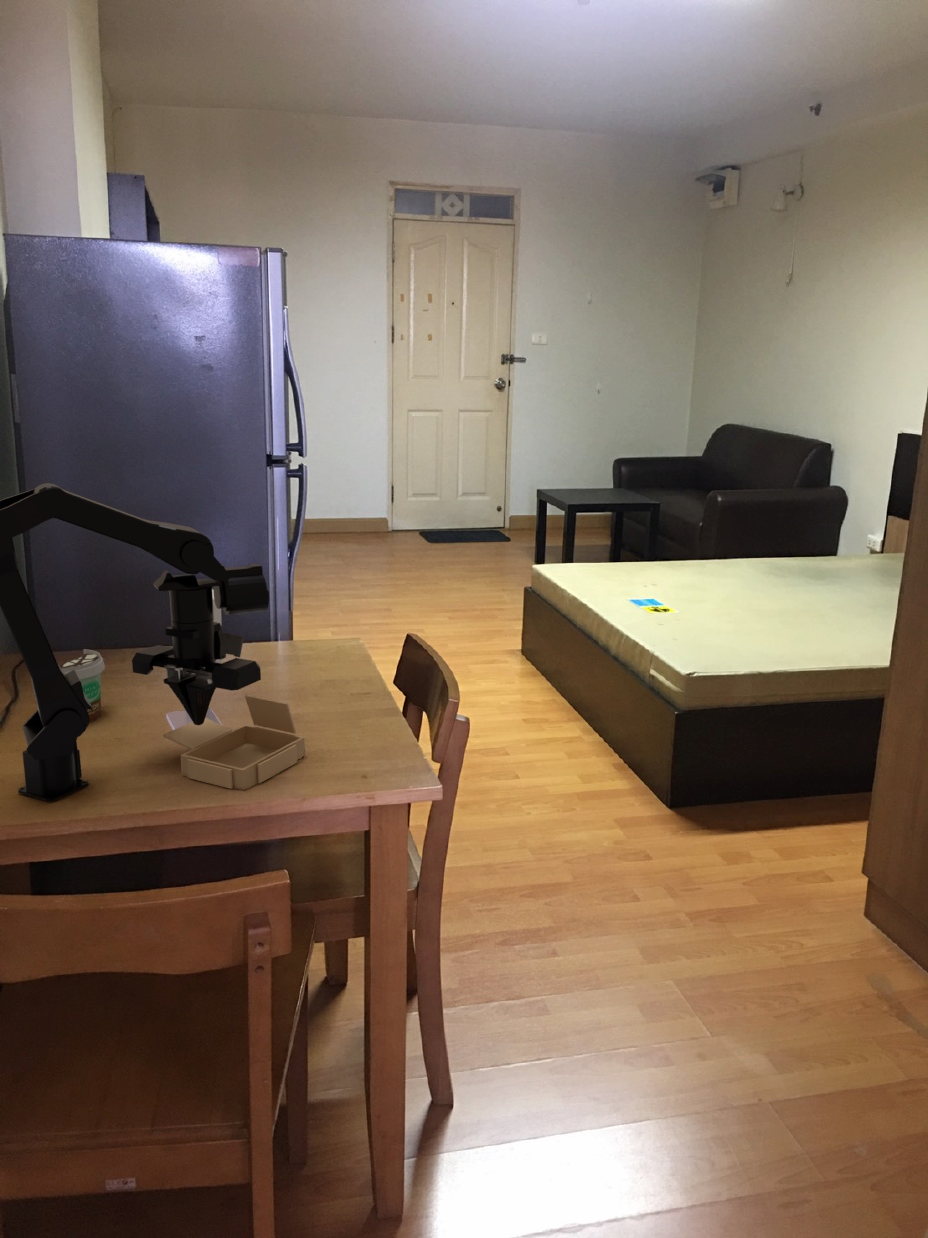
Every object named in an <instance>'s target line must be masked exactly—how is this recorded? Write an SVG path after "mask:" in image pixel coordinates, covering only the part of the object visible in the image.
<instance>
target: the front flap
mask: <svg viewBox="0 0 928 1238" xmlns="http://www.w3.org/2000/svg"><path fill="white" fill-rule="evenodd" d="M244 698H245V702H246V704H247V707H248V710H249V714H250V717H251V719H252V723H253V725H254V726H256V727H258V726H259V727H261V728H265V729H270V730H275V731H279V732H280V731H281V732H284V733H289V734H293V735H296V733H297V731H296V727H295V724H294V720H293V717H292V714H291V711H290V707H289V704H288V702H284V701H281V700H280V701H279V700H273V699H269V698H263V697H259V696H254V695H249V694H245V695H244Z"/></svg>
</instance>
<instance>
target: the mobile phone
mask: <svg viewBox="0 0 928 1238" xmlns="http://www.w3.org/2000/svg"><path fill="white" fill-rule="evenodd" d="M165 717H166V720H167V721H168V724H169V725H170V728H171V729H172V730H175V729H177V728H179V727H182V726H184V725H186V724H188V723H191V722H193V721H192V720H191V718H190V716H189V715H188V713H187V712H186V710H185V709H184V710H175V711H174V710H173V711H169V712H167V713H166V714H165ZM206 718H208V719H210V720H212V721H214V722H216V723H218V724H220V725H222V726H224V725H223V724H222V723H221V721H220V719H219V717H217V715H216V714H215V712H214V711H213V709H212V708H210V707H209V708H208V711H207V714H206Z"/></svg>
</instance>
